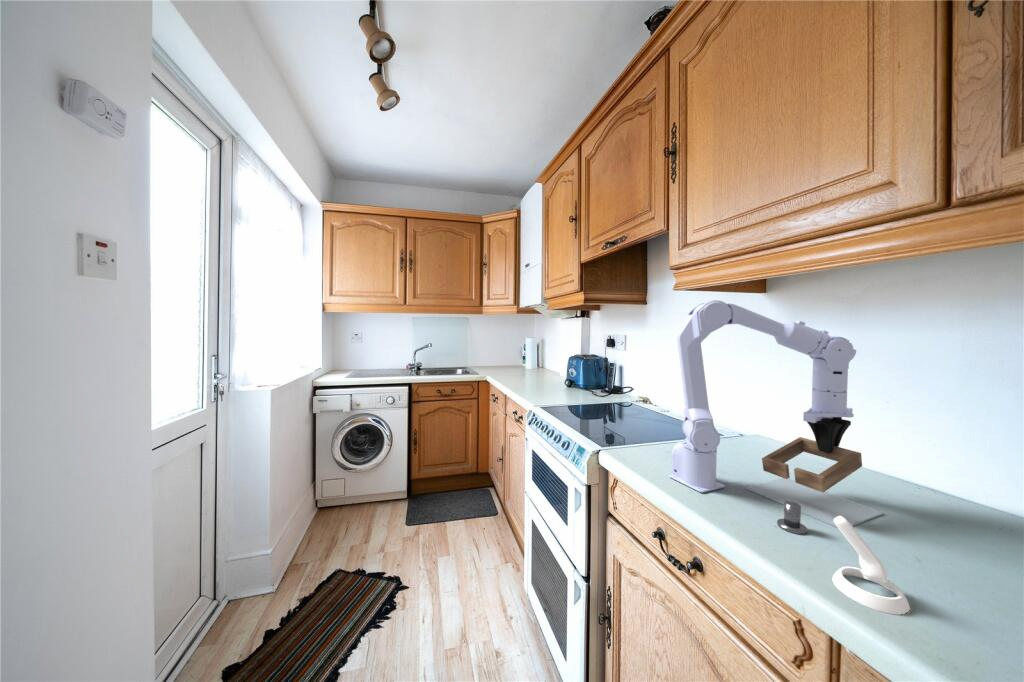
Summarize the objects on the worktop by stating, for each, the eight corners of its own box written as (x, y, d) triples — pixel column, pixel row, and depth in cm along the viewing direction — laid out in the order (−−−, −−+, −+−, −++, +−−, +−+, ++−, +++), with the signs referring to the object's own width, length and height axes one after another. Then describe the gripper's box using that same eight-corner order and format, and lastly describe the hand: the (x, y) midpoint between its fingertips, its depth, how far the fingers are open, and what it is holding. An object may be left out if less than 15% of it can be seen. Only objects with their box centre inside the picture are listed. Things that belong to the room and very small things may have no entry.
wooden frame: (763, 470, 77) (761, 458, 76) (801, 448, 82) (800, 437, 81) (823, 492, 67) (821, 478, 66) (862, 466, 71) (861, 452, 71)
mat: (745, 488, 81) (745, 487, 81) (785, 478, 86) (785, 477, 86) (842, 529, 64) (842, 528, 64) (884, 514, 70) (884, 512, 70)
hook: (786, 525, 56) (829, 506, 55) (845, 605, 52) (893, 586, 51) (805, 541, 49) (854, 520, 48) (875, 634, 45) (931, 614, 44)
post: (771, 523, 66) (772, 500, 66) (786, 519, 68) (786, 496, 67) (798, 536, 62) (799, 512, 62) (812, 531, 64) (813, 507, 63)
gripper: (832, 395, 69) (830, 462, 70) (871, 391, 75) (869, 452, 75) (793, 390, 76) (791, 450, 76) (831, 386, 81) (829, 443, 82)
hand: (827, 451), depth 76 cm, fingers closed on wooden frame
